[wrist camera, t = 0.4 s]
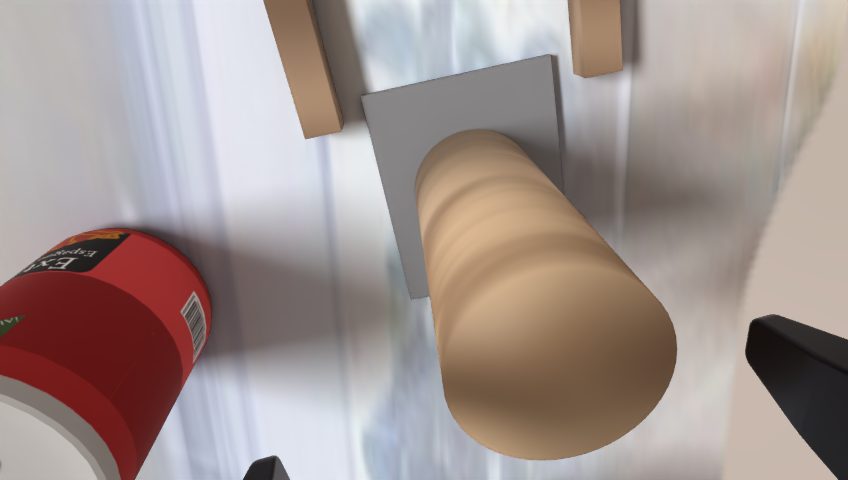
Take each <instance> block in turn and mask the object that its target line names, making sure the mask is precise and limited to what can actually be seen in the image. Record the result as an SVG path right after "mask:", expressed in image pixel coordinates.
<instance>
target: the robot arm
mask: <svg viewBox="0 0 848 480" xmlns="http://www.w3.org/2000/svg"><path fill="white" fill-rule="evenodd" d="M745 354H746V358H747V361H748V363H749V364H750V366H751V367H752V369H753V370H754V372H755V373H756V375H757V376H758V377H759V379H760V380H761V382H762V383H763V384H764V386H765V387H766V389H767V390H768V391H769V393H770V394H771V396H772V397H773V398H774V400H775V401H776V403H777V404H778V405H779V407H780V408H781V410H782V411H783V412H784V414H785V415H786V417H787V418H788V419H789V421H790V422H791V424H792V425H793V426H794V428H795V429H796V430H797V432H798V433H799V434H800V435H801V436H802V438H803V439H804V440H805V441H806V443H807V444H808V445H809V446H810V447H811V449H812V450H813V451H814V452H815V453H816V454H817V456H818V457H819V458H820V459H821V460H822V461H823V462H824V464H825V465H826V466H827V467H828V468H829V469H830V471H831V472H832V473H833V474H834V475H835V476H836V477H837V479H838V480H848V340H847V339H844V338H842V337H839V336H836V335H833V334H830V333H827V332H825V331H822V330H819V329H816V328H813V327H810V326H808V325H805V324H802V323H799V322H796V321H793V320H791V319H788V318H785V317H782V316H779V315H775V314H772V315H767V316H763V317H760V318H756V319H754V320H752V322H751V323H750V326H749V332H748V337H747V343H746V349H745ZM243 480H290V479H289V476H288V474H287V472H286V470H285V468H284V466H283V464H282V462H281V460H280V459H279V458H278V457H277V456H270V457H266V458H263V459H259V460H256V461H255V462H253V463H252V465H251V466H250V468H249V470H248V471H247V473H246V475H245V477H244V479H243Z"/></svg>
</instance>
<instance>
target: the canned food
mask: <svg viewBox="0 0 848 480" xmlns="http://www.w3.org/2000/svg"><path fill="white" fill-rule="evenodd" d="M210 327H211V302H210V295H209V293H208V290H207V287H206V285H205V282H204V280H203V279H202V277H201V275H200V274H199V272H198V271H197V269H196V268H195V267H194V266H193V265H192V263H191V262H190V261H189V260H188V259H187V258H186V257H185V256H184V255H183V254H181V253H180V252H179V251H178V250H176V249H175V248H174V247H172V246H171V245H169V244H167V243H165V242H164V241H162V240H160V239H158V238H156V237H153V236H151V235H148V234H146V233H143V232H138V231H134V230H129V229H117V228H108V229H101V230H94V231H89V232H84V233H81V234H78V235H75V236H72V237H70V238H67V239H66V240H64V241H63V242H61V243H59V244H58V245H56V246H55V247H54V248H52V249H51V250H49V251H48V252H47V253H45V254H44V255H43V256H41V257H40V258H38V259H37V260H36V261H34V262H33V263H32V264H30V265H29V266H28V267H26V268H25V269H23V270H22V271H21V272H19V273H18V274H17V275H15V276H14V277H12V278H11V279H10V280H8V281H7V282H6V283H4V284H3V285H2V286H0V480H135V478H136V477H137V475H138V473H139V471H140V469H141V467H142V465H143V463H144V461H145V459H146V457H147V455H148V453H149V451H150V450H151V448H152V446H153V444H154V442H155V440H156V438H157V436H158V434H159V432H160V430H161V428H162V426H163V425H164V423H165V421H166V419H167V417H168V415H169V413H170V411H171V409H172V407H173V405H174V403H175V401H176V400H177V398H178V396H179V394H180V392H181V390H182V388H183V386H184V384H185V382H186V380H187V378H188V376H189V374H190V373H191V371H192V369H193V367H194V365H195V363H196V361H197V359H198V357H199V355H200V353H201V351H202V349H203V348H204V346H205V344H206V341H207V338H208V335H209V333H210Z"/></svg>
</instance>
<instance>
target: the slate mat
mask: <svg viewBox="0 0 848 480" xmlns="http://www.w3.org/2000/svg"><path fill="white" fill-rule="evenodd" d="M361 100H362V104H363V108H364V112H365V116H366V121H367V125H368V129H369V133H370V137H371V141H372V145H373V149H374V153H375V157H376V161H377V165H378V169H379V173H380V177H381V181H382V185H383V189H384V193H385V197H386V201H387V205H388V209H389V213H390V217H391V221H392V225H393V229H394V233H395V237H396V241H397V245H398V249H399V253H400V257H401V261H402V266H403V270H404V274H405V278H406V282H407V286H408V290H409V294H410V298H411V300H413V299H418V298H422V297H427V296H430V293H429V286H428V280H427V273H426V266H425V259H424V252H423V245H422V239H421V232H420V225H419V218H418V211H417V204H416V198H415V181H416V176H417V172H418V170H419V167H420V165H421V163H422V161H423V160H424V158H425V156H426V155H427V154H428V152H429V151H430V150H431V149H432V148H433V147H434V146H435V145H436V144H438V143H439V142H440V141H441V140H443V139H445V138H446V137H448V136H450V135H452V134H455V133H457V132H461V131H464V130H471V129H485V130H491V131H495V132H498V133H500V134H503V135H505V136H507V137H508V138H510V139H511V140H513V141H514V142H515V143H517V145H518V146H519V147H520V148H521V149H522V150H523V151H524V152H525V153H526V154H527V155H528V156H529V158H530V159H531V160H532V161H533V162H534V163H535V164H536V165H537V166H538V168H539V169H540V170H541V171H542V172H543V173H544V174H545V175H546V176H547V177H548V179H549V180H550V181H551V182H552V183H553V184H554V185H555V186H556V187H557V189H558V190H559V191H560V192H561V193H562V194H563V195H564V188H563V177H562V167H561V157H560V146H559V136H558V126H557V115H556V105H555V94H554V84H553V74H552V63H551V55H549V54H547V55H542V56H538V57H533V58H529V59H524V60H520V61H515V62H510V63H506V64H501V65H497V66H492V67H488V68H483V69H479V70H474V71H469V72H465V73H460V74H456V75H451V76H447V77H442V78H437V79H433V80H428V81H424V82H419V83H415V84H410V85H406V86H401V87H396V88H392V89H387V90H383V91H378V92H374V93H369V94H365V95H361Z"/></svg>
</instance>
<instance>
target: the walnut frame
mask: <svg viewBox="0 0 848 480" xmlns="http://www.w3.org/2000/svg"><path fill="white" fill-rule="evenodd" d="M263 1H264V4H265V8H266V11H267V14H268V18H269V21H270V24H271V27H272V31H273V34H274V37H275V41H276V44H277V47H278V51H279V54H280V57H281V61H282V64H283V67H284V71H285V74H286V77H287V80H288V84H289V87H290V90H291V94H292V97H293V100H294V104H295V107H296V110H297V114H298V117H299V120H300V124H301V127H302V130H303V134H304V137H305V139H309V138H314V137H318V136H323V135H327V134H332V133H336V132H341V131H342V128H343V125H344V121H343V117H342V114H341V110H340V106H339V103H338V99H337V95H336V91H335V88H334V84H333V80H332V76H331V73H330V69H329V65H328V61H327V58H326V54H325V50H324V46H323V43H322V39H321V35H320V31H319V28H318V24H317V20H316V16H315V13H314V9H313V5H312V1H311V0H263ZM568 10H569V22H570V35H571V47H572V60H573V72H574V74H576V75H579V76H581V77H584V78H589V77H594V76H598V75H603V74H607V73H612V72H617V71H621V70H623V64H622V40H621V16H620V0H568Z"/></svg>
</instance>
